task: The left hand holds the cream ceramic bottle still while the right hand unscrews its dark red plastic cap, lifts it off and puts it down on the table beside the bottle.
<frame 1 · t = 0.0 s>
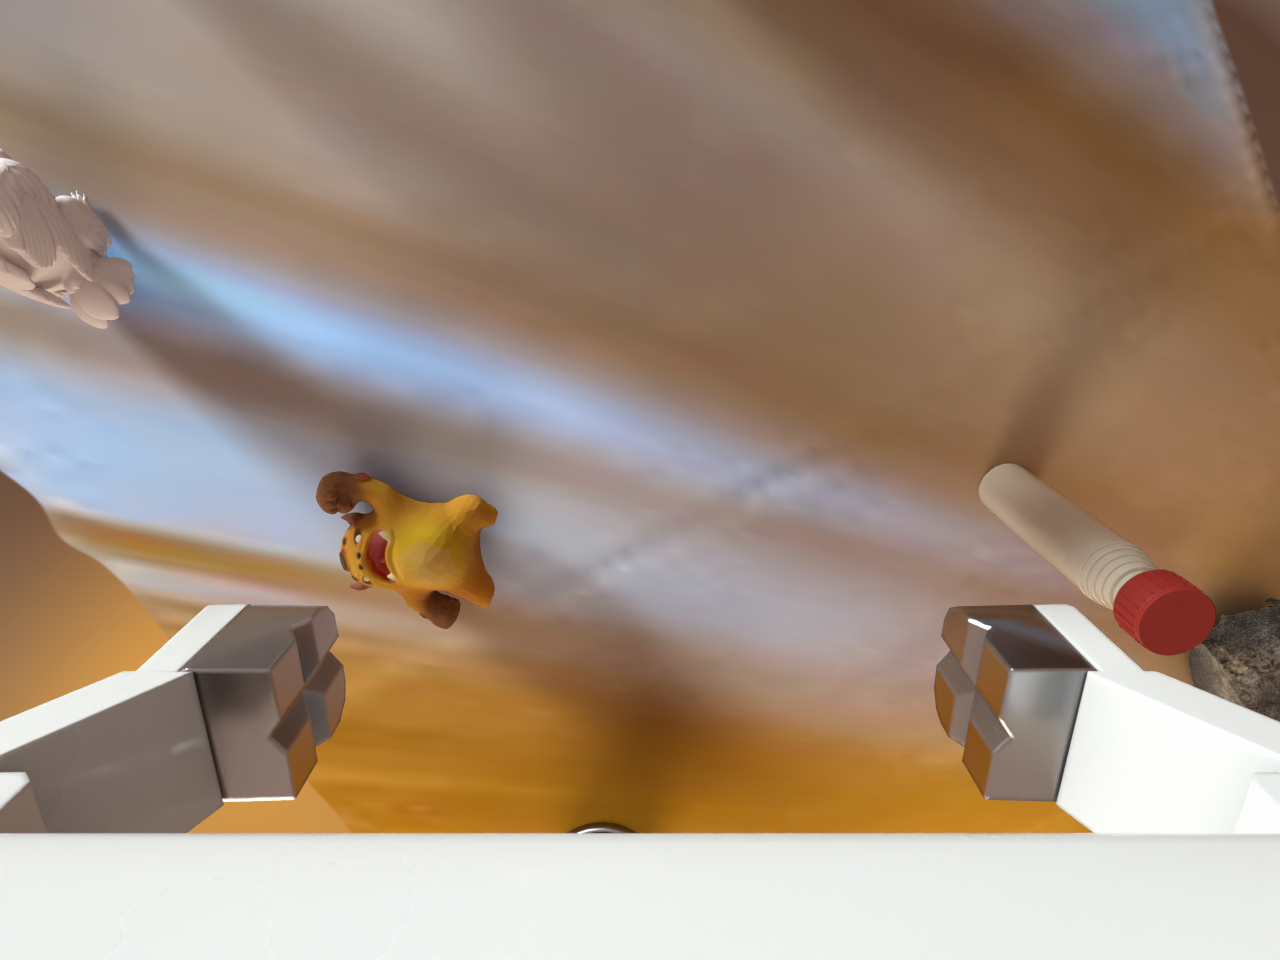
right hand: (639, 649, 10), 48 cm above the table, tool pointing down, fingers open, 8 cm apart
toy: (418, 528, 62), on the table
bottle: (1004, 487, 61), on the table
rock: (1234, 651, 66), on the table
figurine: (62, 230, 54), on the table
cap: (1173, 620, 42), point 20 cm above the table, screwed on, not yet turned
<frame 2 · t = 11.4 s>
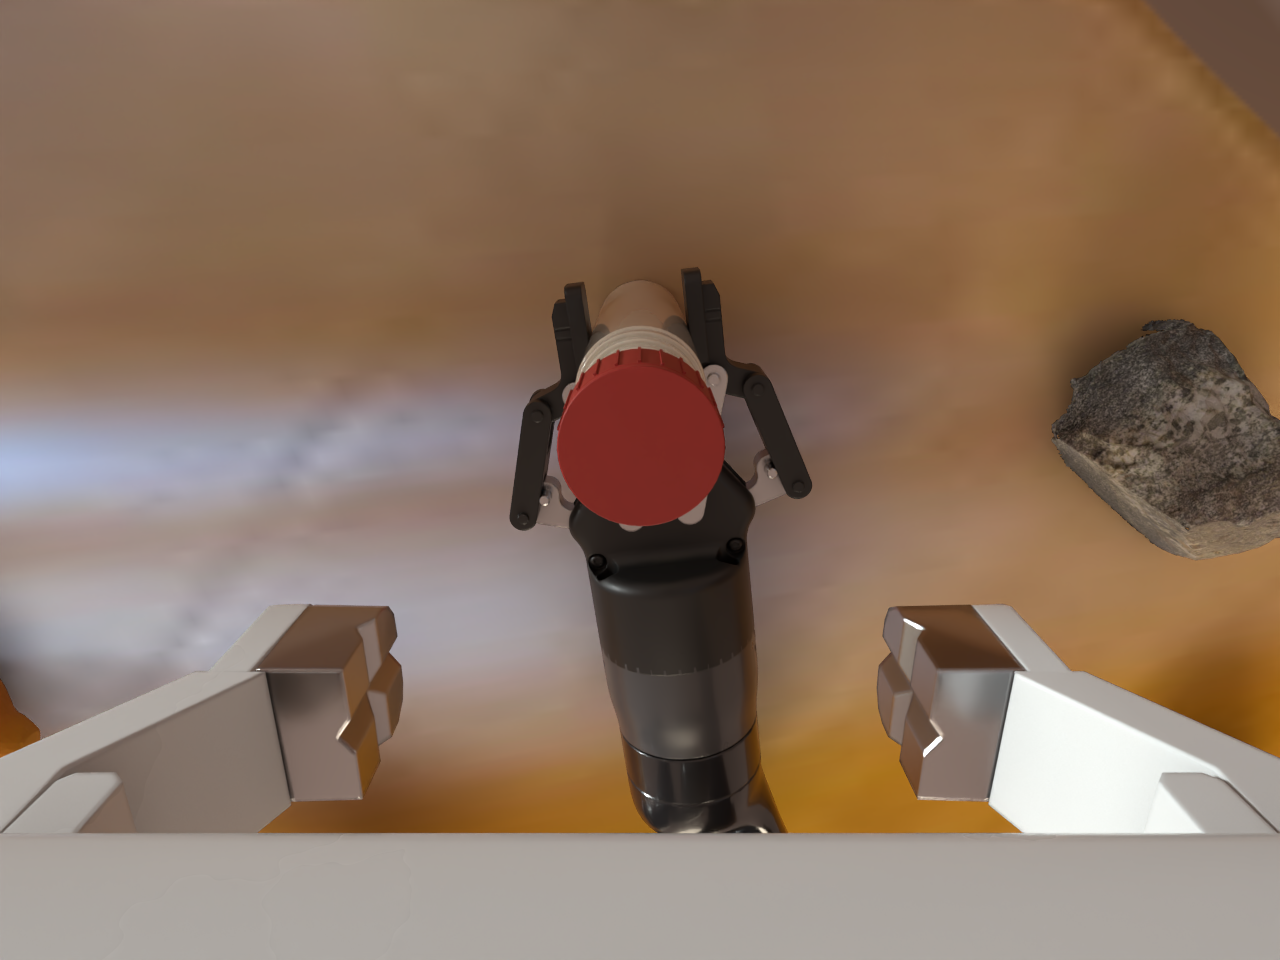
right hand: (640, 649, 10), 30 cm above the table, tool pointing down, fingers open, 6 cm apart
left hand: (631, 279, 31), fingers closed on bottle, 4 cm apart
bottle: (640, 323, 38), on the table, touching left hand
rock: (1146, 427, 40), on the table
cap: (640, 445, 19), point 20 cm above the table, screwed on, not yet turned
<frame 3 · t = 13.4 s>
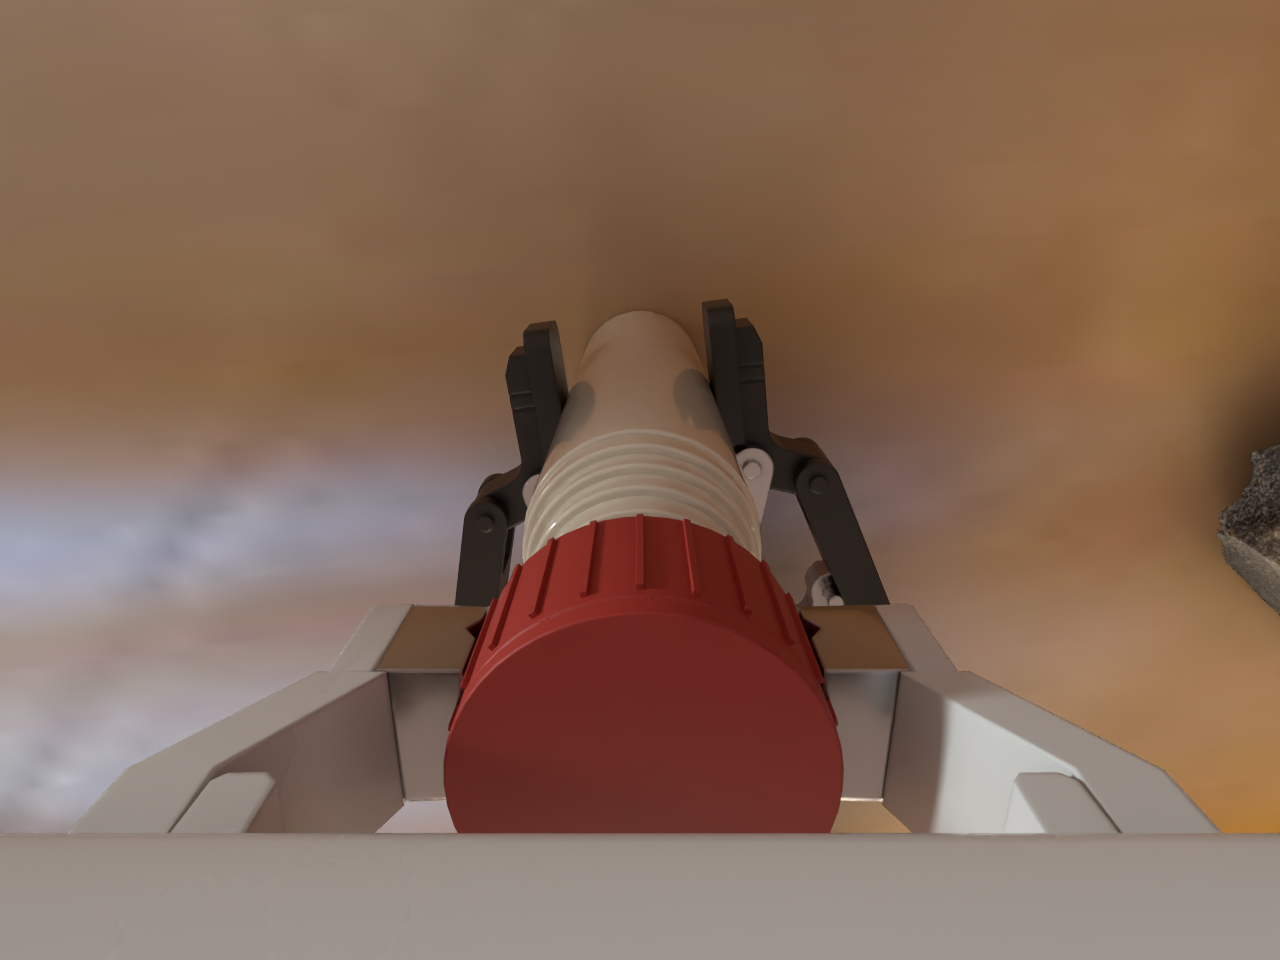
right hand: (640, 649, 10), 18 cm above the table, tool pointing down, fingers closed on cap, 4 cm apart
bottle: (640, 369, 27), on the table, touching left hand
cap: (643, 768, 8), point 20 cm above the table, screwed on, not yet turned, touching right hand
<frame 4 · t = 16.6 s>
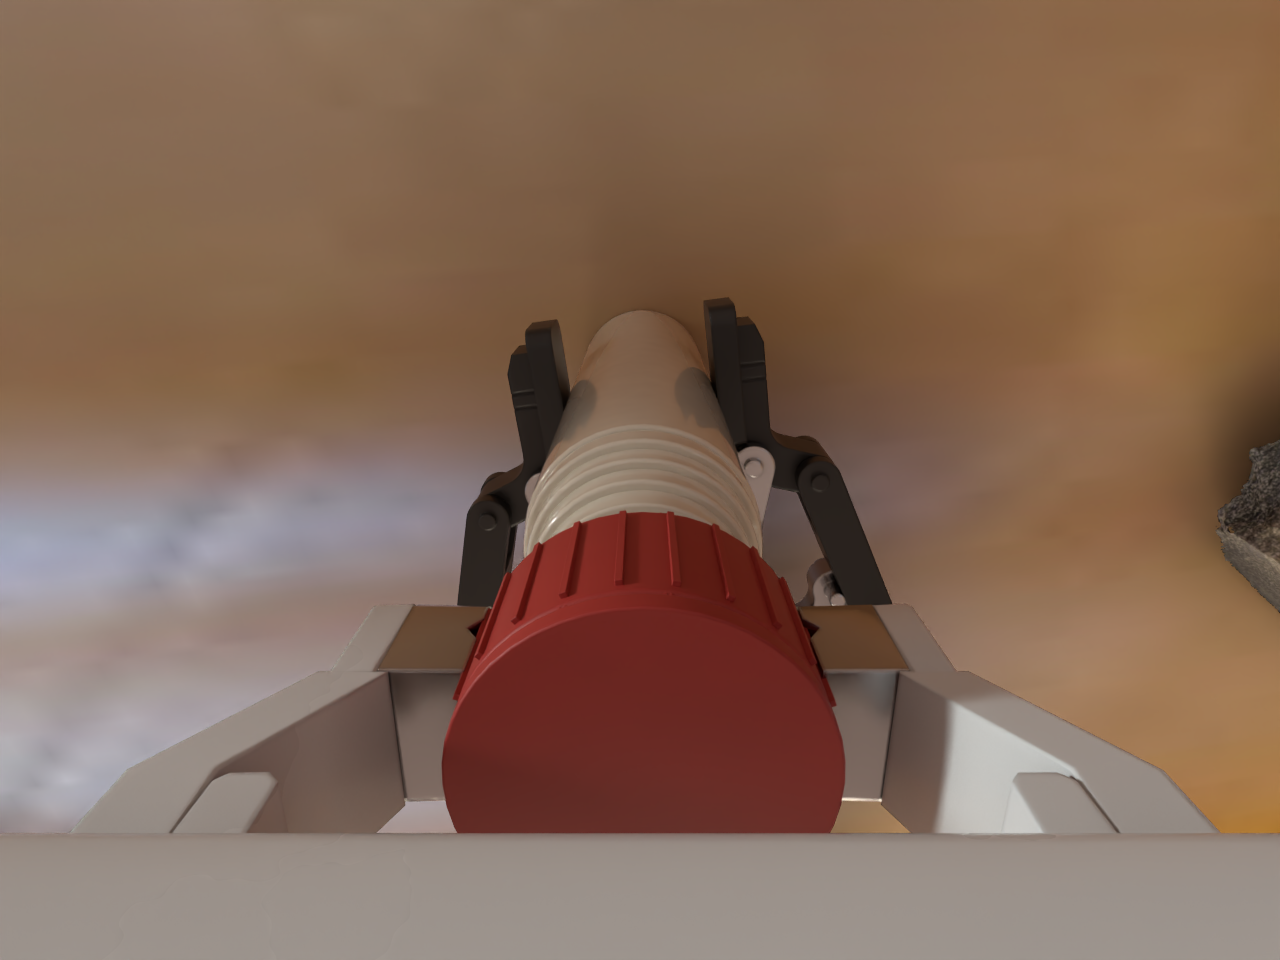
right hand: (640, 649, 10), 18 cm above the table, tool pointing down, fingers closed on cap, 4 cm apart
bottle: (642, 369, 27), on the table, touching left hand
cap: (643, 765, 8), point 21 cm above the table, turned 84° so far, risen 0.1 cm, still on its thread, touching right hand
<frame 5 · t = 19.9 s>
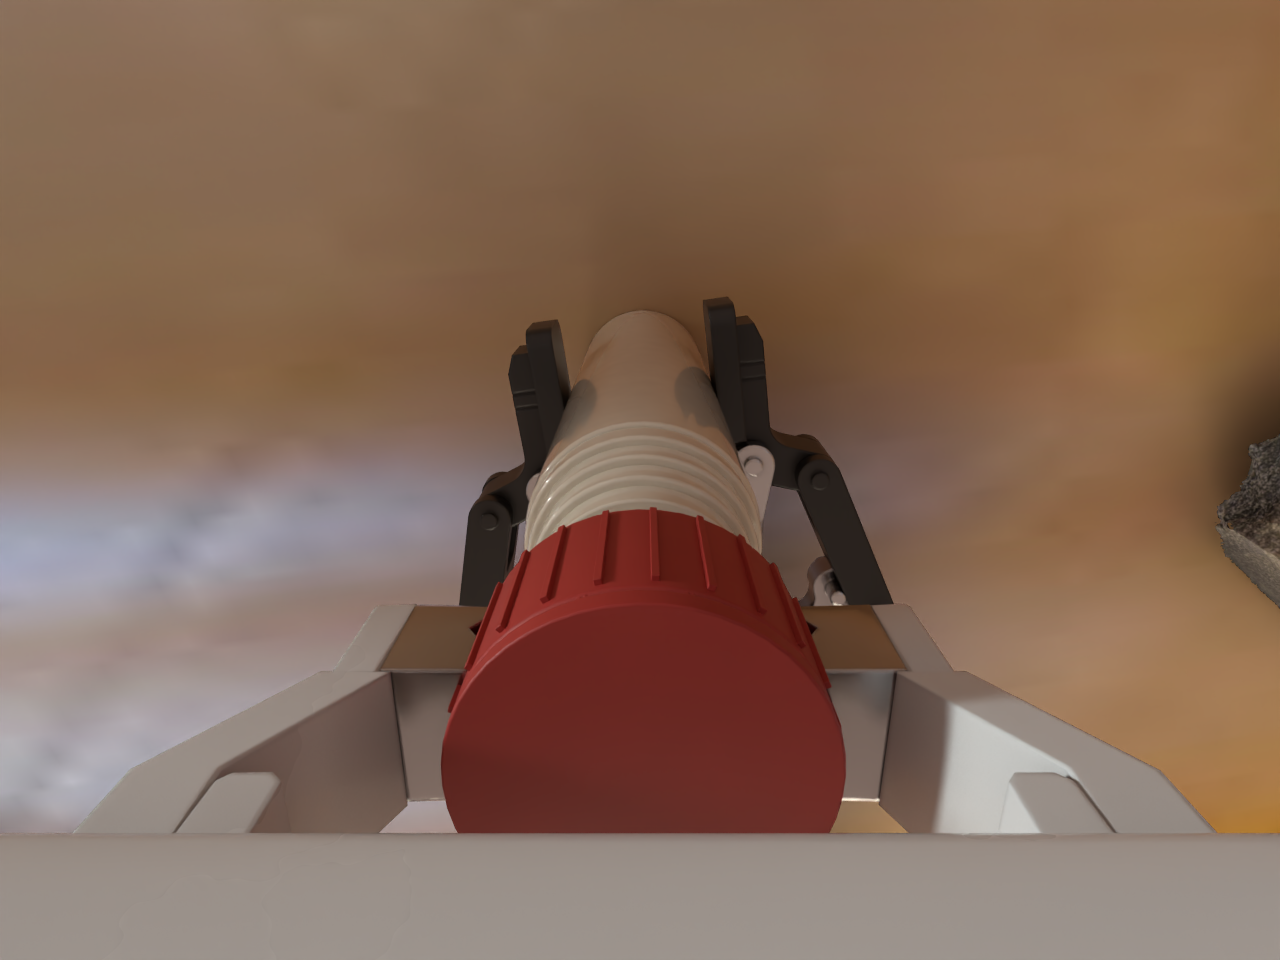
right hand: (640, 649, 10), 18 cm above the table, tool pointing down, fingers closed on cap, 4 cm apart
bottle: (643, 369, 27), on the table, touching left hand
cap: (643, 762, 8), point 21 cm above the table, turned 168° so far, risen 0.2 cm, still on its thread, touching right hand
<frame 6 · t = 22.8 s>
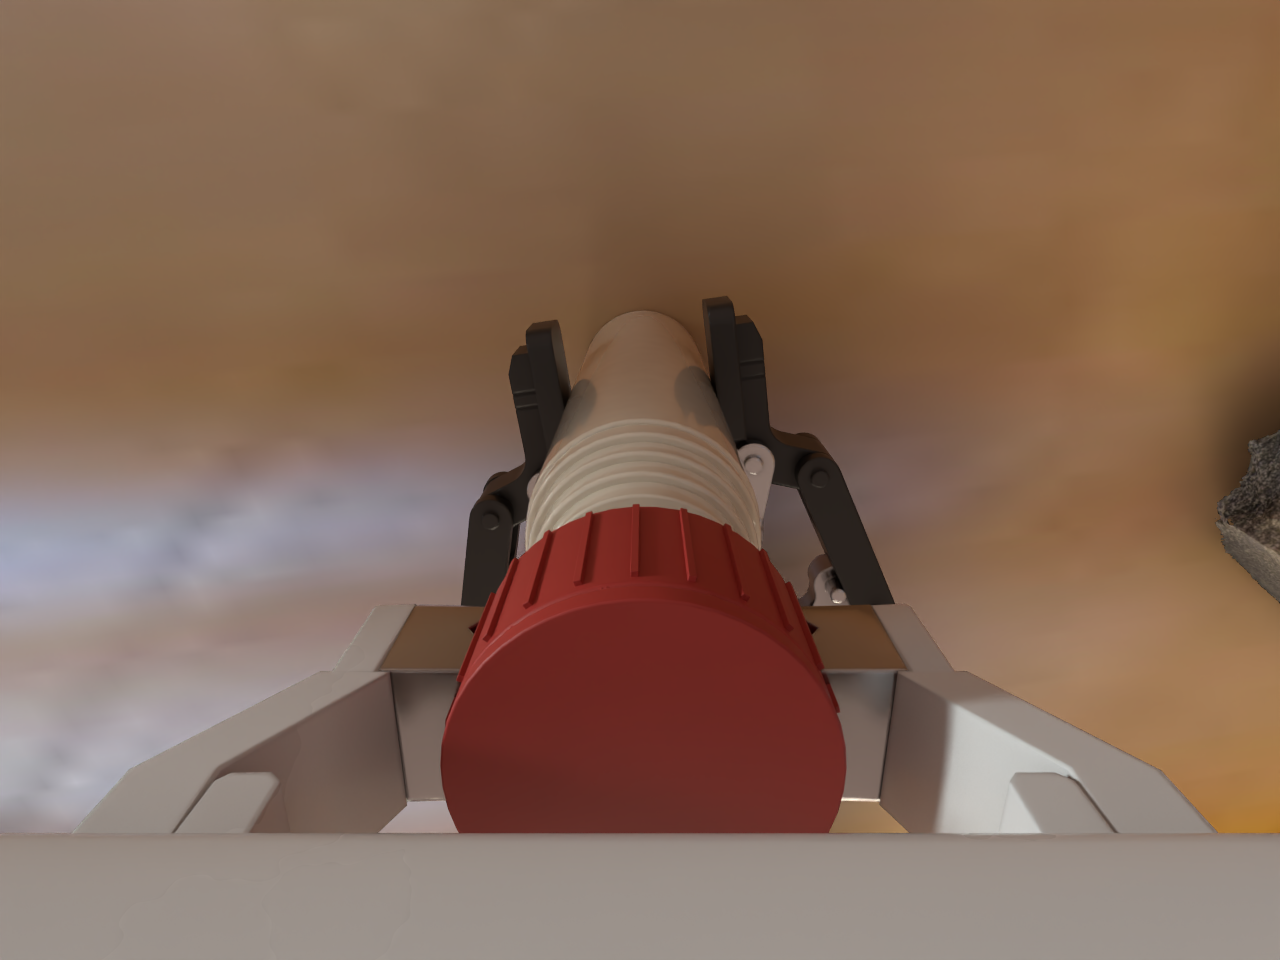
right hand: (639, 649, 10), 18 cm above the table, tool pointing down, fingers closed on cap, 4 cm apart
bottle: (643, 369, 27), on the table, touching left hand
cap: (643, 759, 8), point 21 cm above the table, turned 251° so far, risen 0.3 cm, still on its thread, touching right hand
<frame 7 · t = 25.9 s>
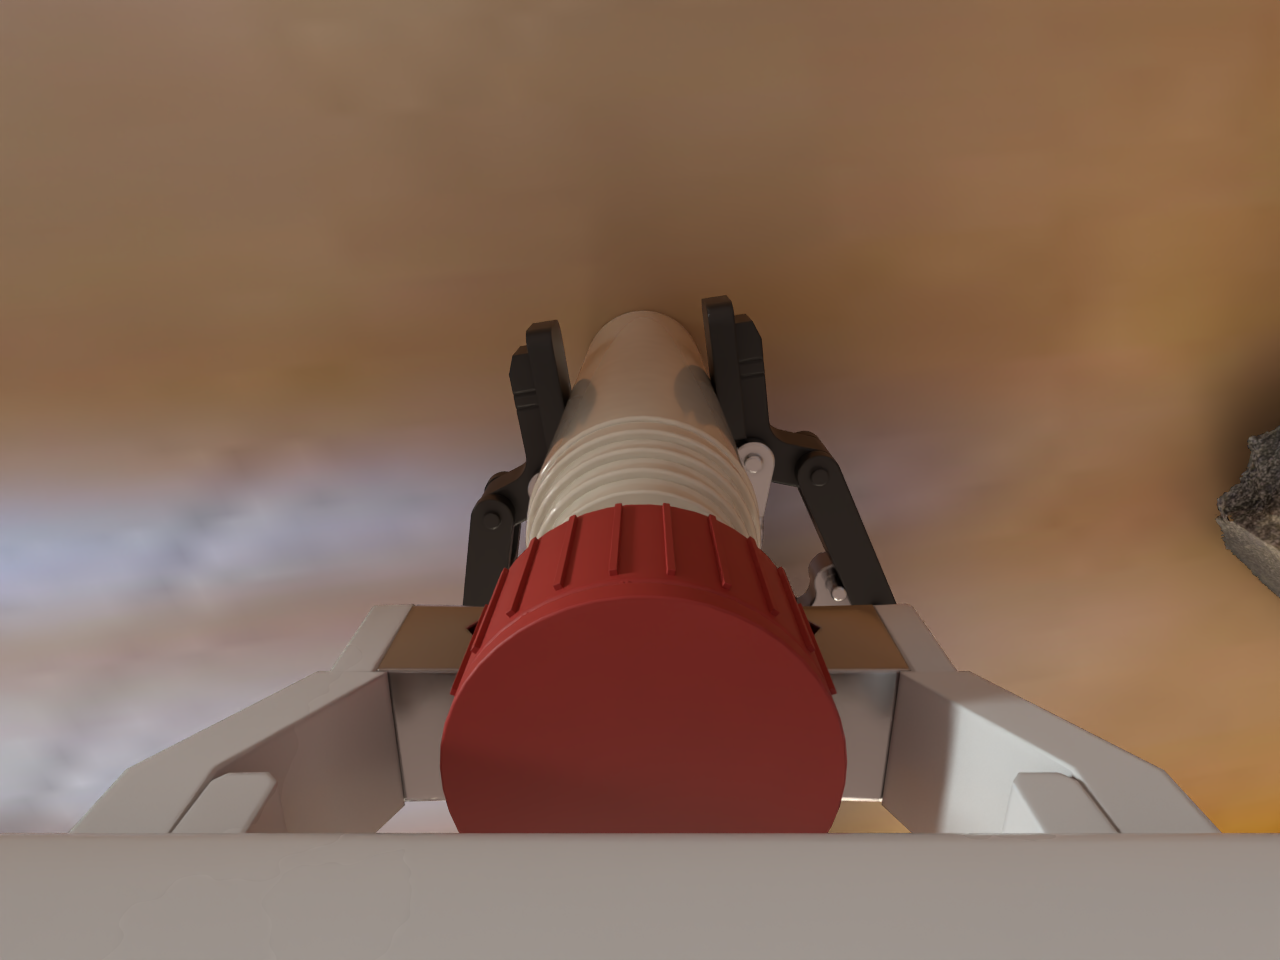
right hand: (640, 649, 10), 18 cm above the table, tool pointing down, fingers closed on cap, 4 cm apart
bottle: (643, 369, 28), on the table, touching left hand
cap: (643, 757, 8), point 21 cm above the table, turned 335° so far, risen 0.4 cm, still on its thread, touching right hand
when the right hand's fingers open (2 cm above the table, at t = 31.9 s): cap drops 2 cm, point 2 cm above the table.
when the left hand's fingers open (6 cm above the table, at t = 33.0 s): bottle stays where it is, on the table.
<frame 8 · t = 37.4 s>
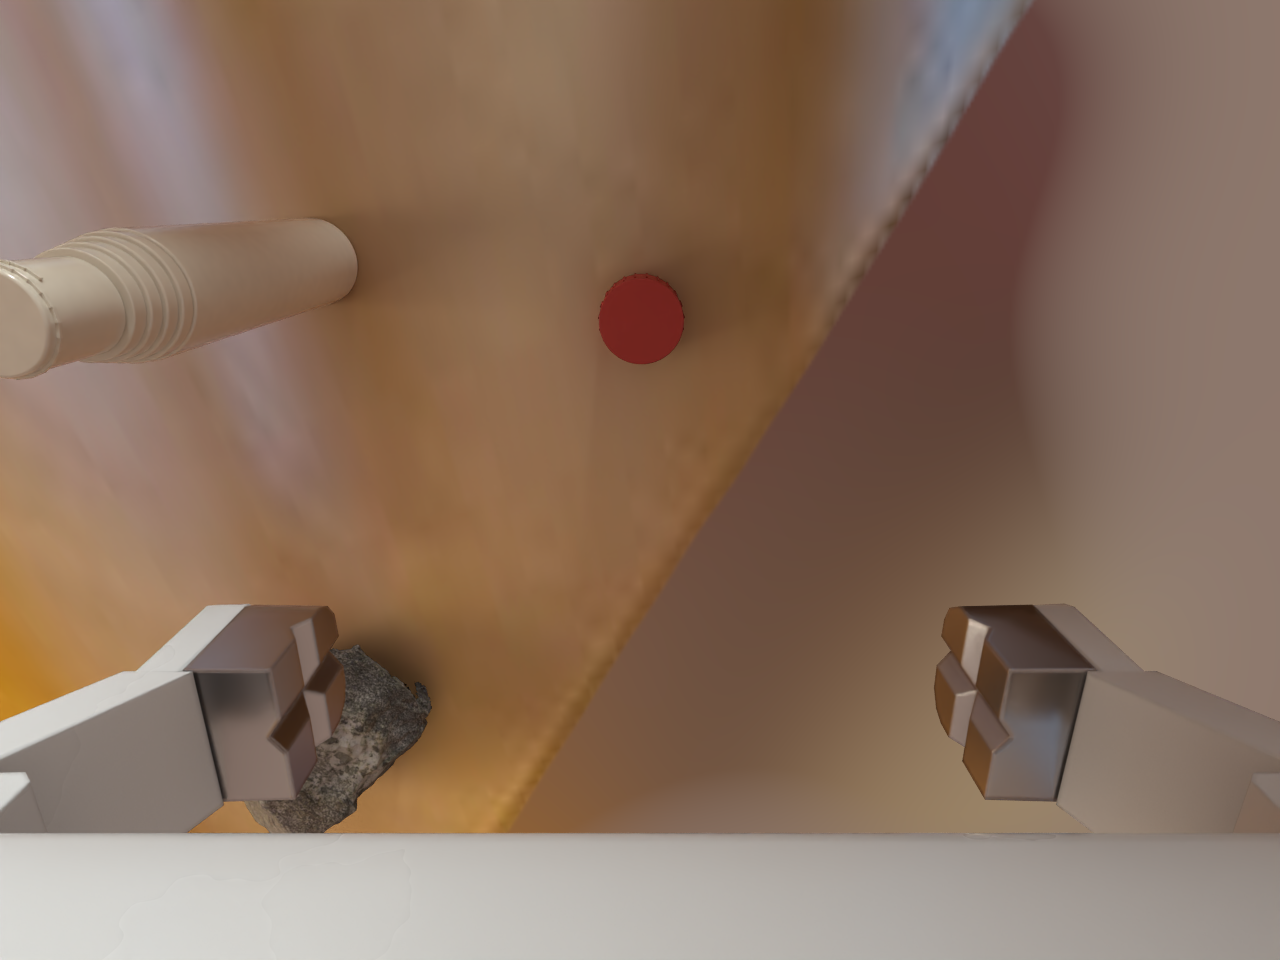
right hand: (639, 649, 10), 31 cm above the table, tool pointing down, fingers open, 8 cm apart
bottle: (316, 261, 38), on the table
rock: (348, 709, 47), on the table
cap: (641, 321, 37), point 2 cm above the table, off its thread
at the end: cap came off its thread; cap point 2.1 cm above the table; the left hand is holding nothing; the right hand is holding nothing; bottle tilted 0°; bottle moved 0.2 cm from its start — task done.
